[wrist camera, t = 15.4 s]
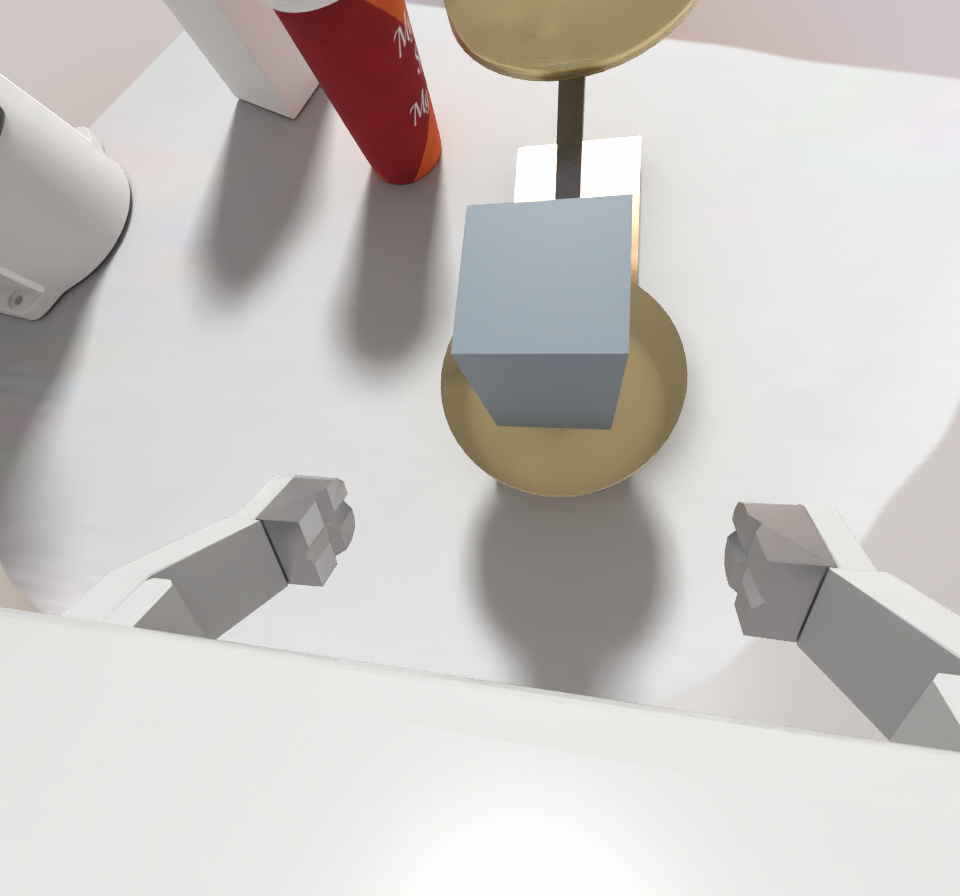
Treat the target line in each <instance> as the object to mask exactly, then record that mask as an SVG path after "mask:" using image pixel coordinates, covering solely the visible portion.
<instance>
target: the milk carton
mask: <svg viewBox="0 0 960 896" xmlns="http://www.w3.org/2000/svg"><path fill="white" fill-rule="evenodd" d="M163 1H164V2H165V4H166V5H167V6H168V8H169V9H170V10H171V12H172V13H173V14H174V16H175V17H176V18H177V20H178V21H179V22H180V23H181V25H182V26H183V28H184V29H185V30H186V32H187V33H188V34H189V36H190V37H191V38H192V40H193V41H194V42H195V44H196V45H197V46H198V48H199V49H200V50H201V52H202V53H203V54H204V56H205V57H206V58H207V60H208V61H209V62H210V64H211V65H212V66H213V68H214V69H215V70H216V72H217V73H218V74H219V75H220V77H221V78H222V79H223V81H224V82H225V83H226V85H227V86H228V87H229V89H230V90H231V91H232V93H233V94H234V95H235V96H236V97H237V98H240V99H242V100H245V101H247V102H250V103H252V104H255V105H258V106H260V107H263V108H265V109H268V110H271V111H273V112H276V113H278V114H281V115H284V116H286V117H289V118H291V119H295V118H296V116H297V115H298V114H299V112H300V111H301V109H302V108H303V106H304V105H305V104H306V102H307V101H308V99H309V98H310V96H311V95H312V94H313V92H314V91H315V89H316V88H317V86H318V85H319V82H318V81H317V79H316V77H315V76H314V74H313V72H312V71H311V69H310V68H309V66H308V64H307V63H306V61H305V60H304V58H303V56H302V55H301V53H300V52H299V50H298V48H297V47H296V45H295V43H294V42H293V40H292V39H291V37H290V35H289V34H288V32H287V31H286V29H285V27H284V26H283V24H282V23H281V21H280V19H279V18H278V16H277V15H276V13H275V11H274V10H273V8H271V7H269V6H267V5H266V4H265V3H263V2H262V0H163Z"/></svg>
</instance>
